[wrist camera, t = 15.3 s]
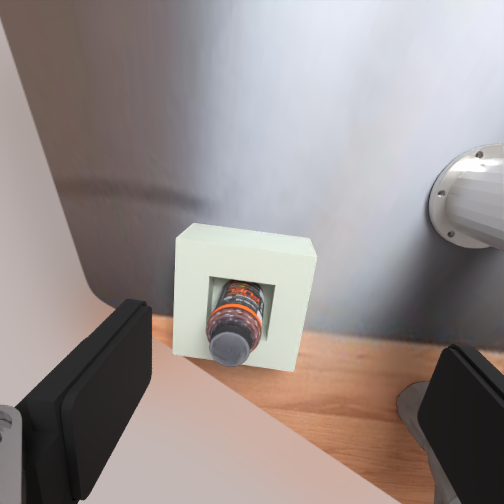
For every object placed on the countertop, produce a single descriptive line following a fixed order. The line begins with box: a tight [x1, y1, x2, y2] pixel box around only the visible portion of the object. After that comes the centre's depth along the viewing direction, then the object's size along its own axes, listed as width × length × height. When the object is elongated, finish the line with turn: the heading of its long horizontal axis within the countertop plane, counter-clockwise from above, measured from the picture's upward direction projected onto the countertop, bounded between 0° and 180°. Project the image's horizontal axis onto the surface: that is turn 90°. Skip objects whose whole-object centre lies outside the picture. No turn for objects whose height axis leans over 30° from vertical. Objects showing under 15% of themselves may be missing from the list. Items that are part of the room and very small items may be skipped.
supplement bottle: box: [206, 279, 264, 367], centre depth 33 cm, size 6×6×11 cm
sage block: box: [173, 223, 317, 372], centre depth 38 cm, size 16×16×8 cm
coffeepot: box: [397, 381, 461, 504], centre depth 38 cm, size 15×9×18 cm, turn 125°
